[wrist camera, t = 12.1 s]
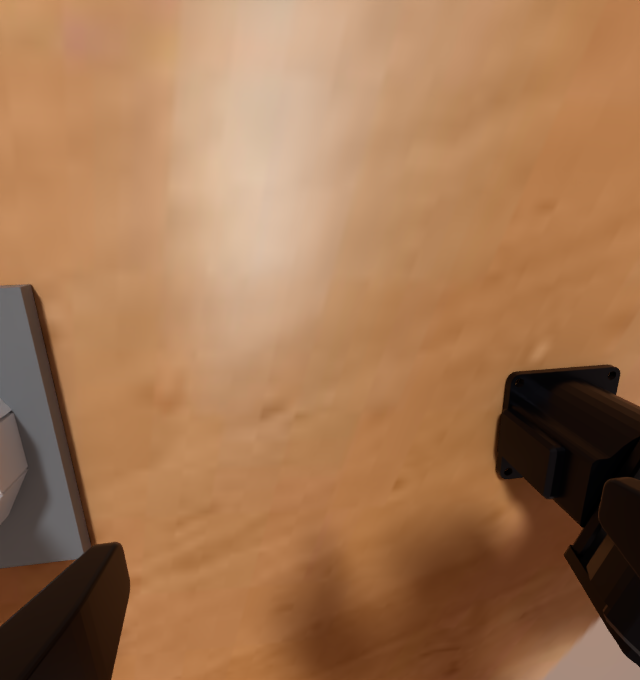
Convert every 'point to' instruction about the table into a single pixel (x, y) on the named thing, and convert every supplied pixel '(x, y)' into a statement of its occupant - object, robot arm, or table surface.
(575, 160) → the table surface
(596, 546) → the robot arm
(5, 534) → the socket plate
